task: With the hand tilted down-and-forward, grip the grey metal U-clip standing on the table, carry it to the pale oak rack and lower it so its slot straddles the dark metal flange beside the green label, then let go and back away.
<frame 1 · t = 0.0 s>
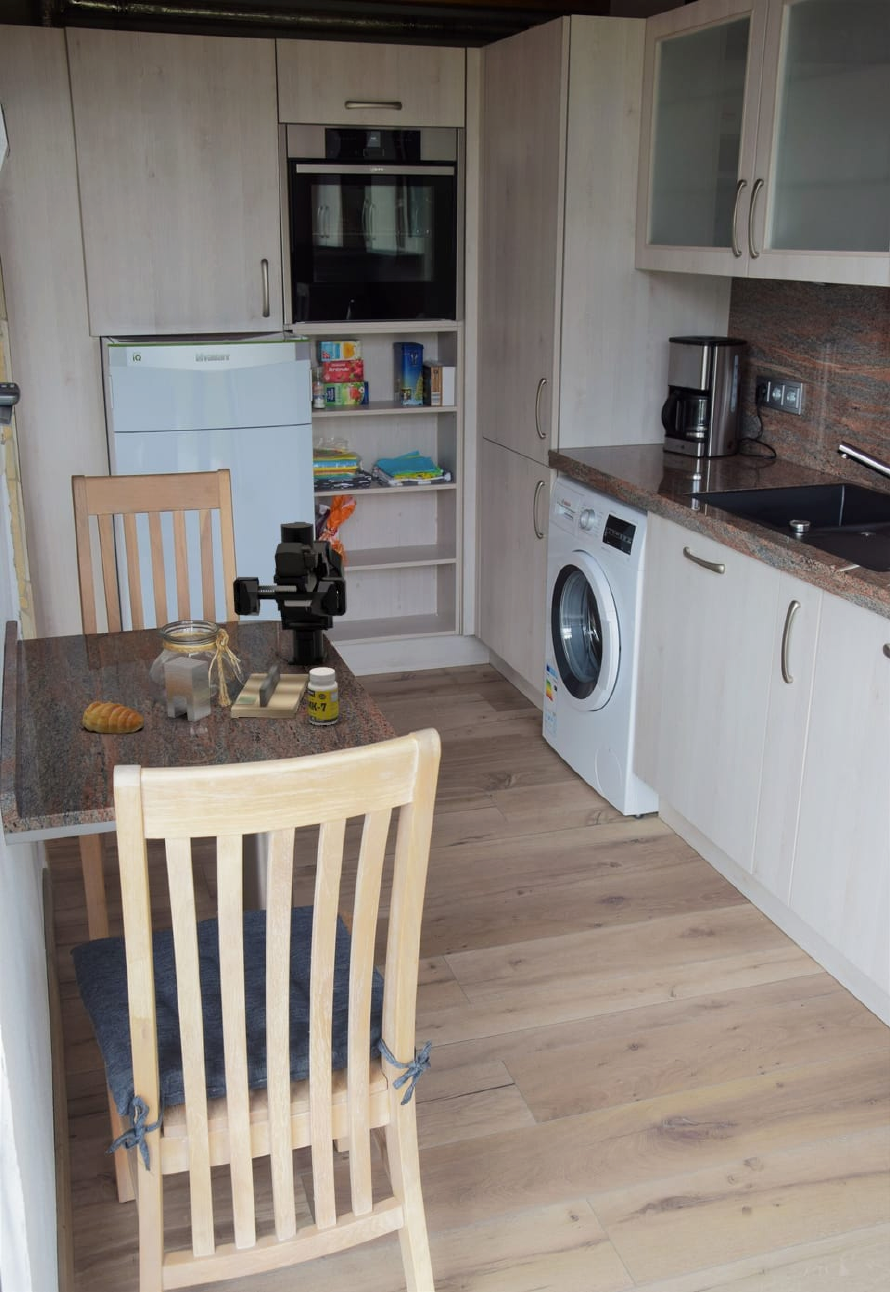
hand: (282, 609, 191), 17 cm above the table, tool horizontal, fingers open, 9 cm apart
clip: (189, 715, 192), on the table
supplement bottle: (323, 722, 189), on the table
pastry: (113, 728, 187), on the table
rack: (271, 699, 199), on the table
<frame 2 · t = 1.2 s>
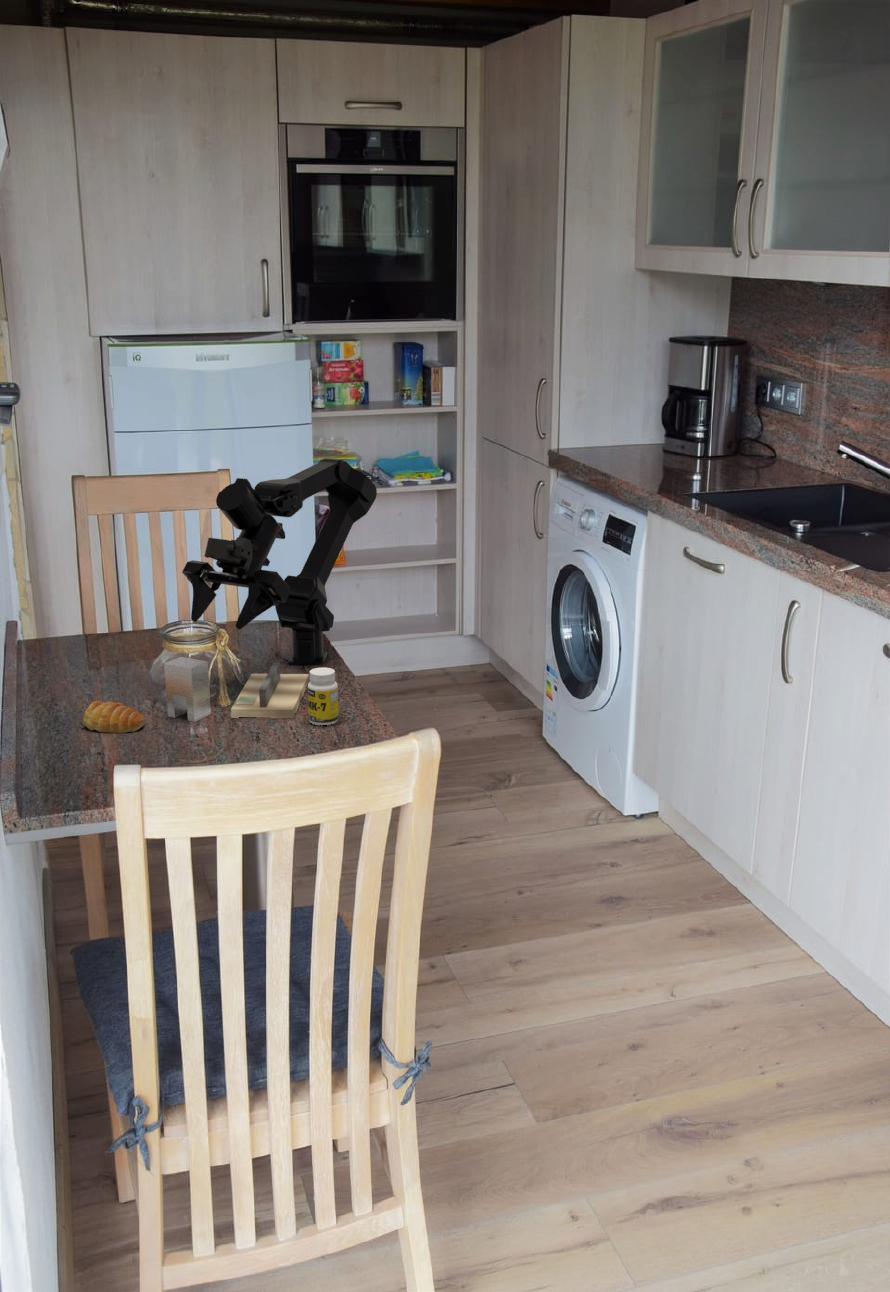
hand: (215, 624, 194), 13 cm above the table, tool tilted 45°, fingers open, 9 cm apart
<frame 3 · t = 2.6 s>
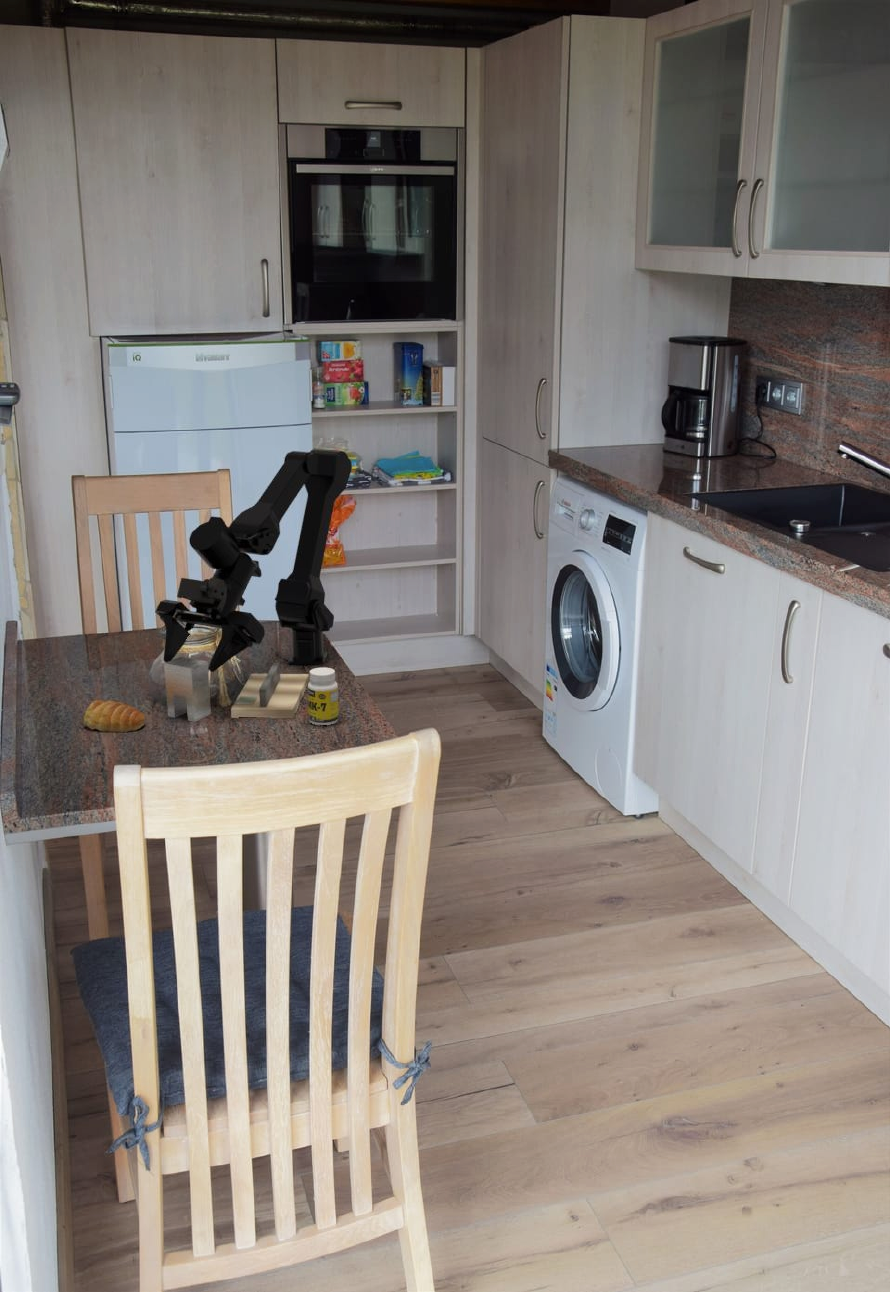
hand: (187, 666, 189), 8 cm above the table, tool tilted 45°, fingers open, 9 cm apart
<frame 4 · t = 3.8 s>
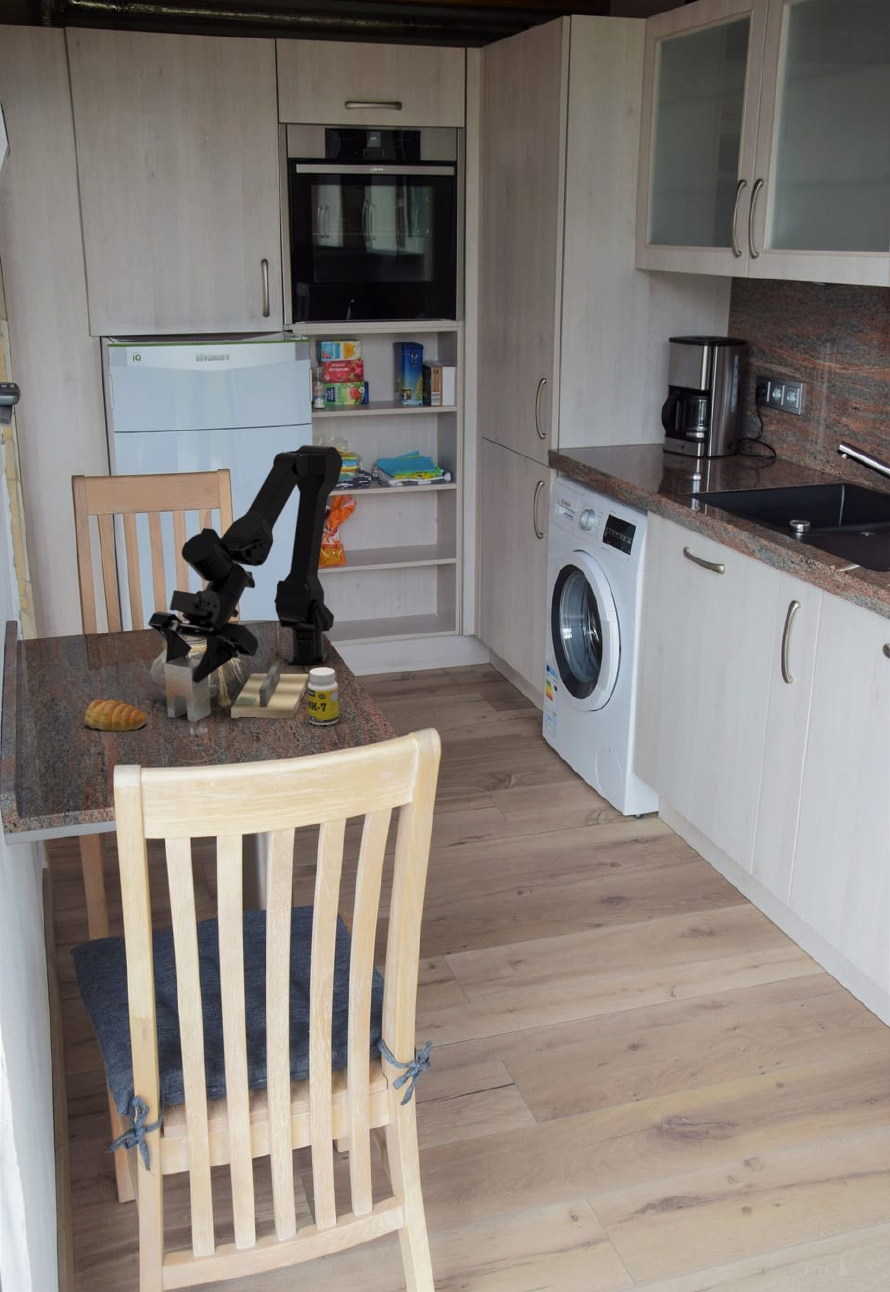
hand: (181, 679, 188), 7 cm above the table, tool tilted 45°, fingers closed on clip, 5 cm apart
clip: (189, 715, 191), on the table, touching gripper
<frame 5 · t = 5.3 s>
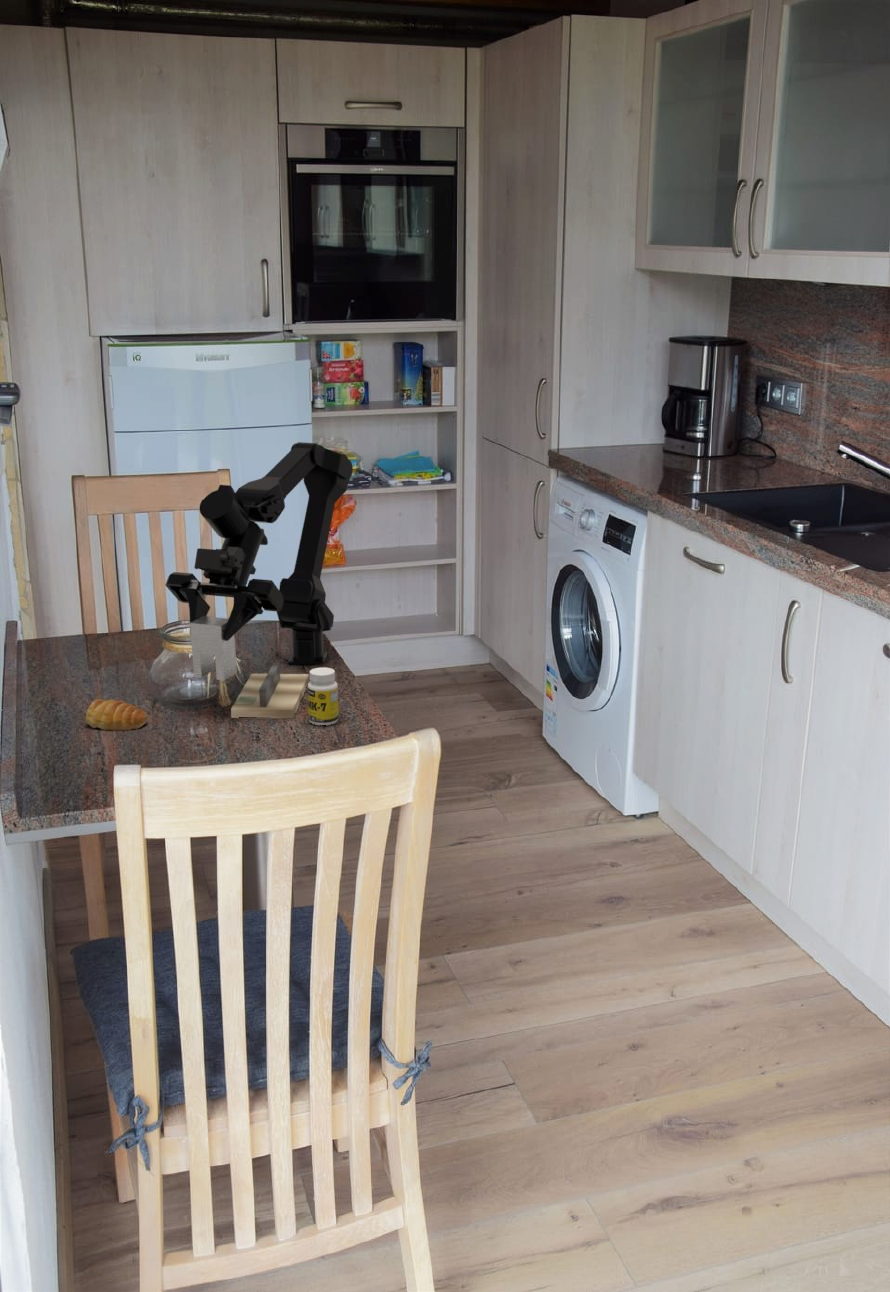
hand: (208, 637, 187), 13 cm above the table, tool tilted 45°, fingers closed on clip, 5 cm apart
clip: (215, 674, 190), point 7 cm above the table, touching gripper
when the fingers open (9 cm above the table, at t = 7.2 s): clip stays where it is, resting on rack.
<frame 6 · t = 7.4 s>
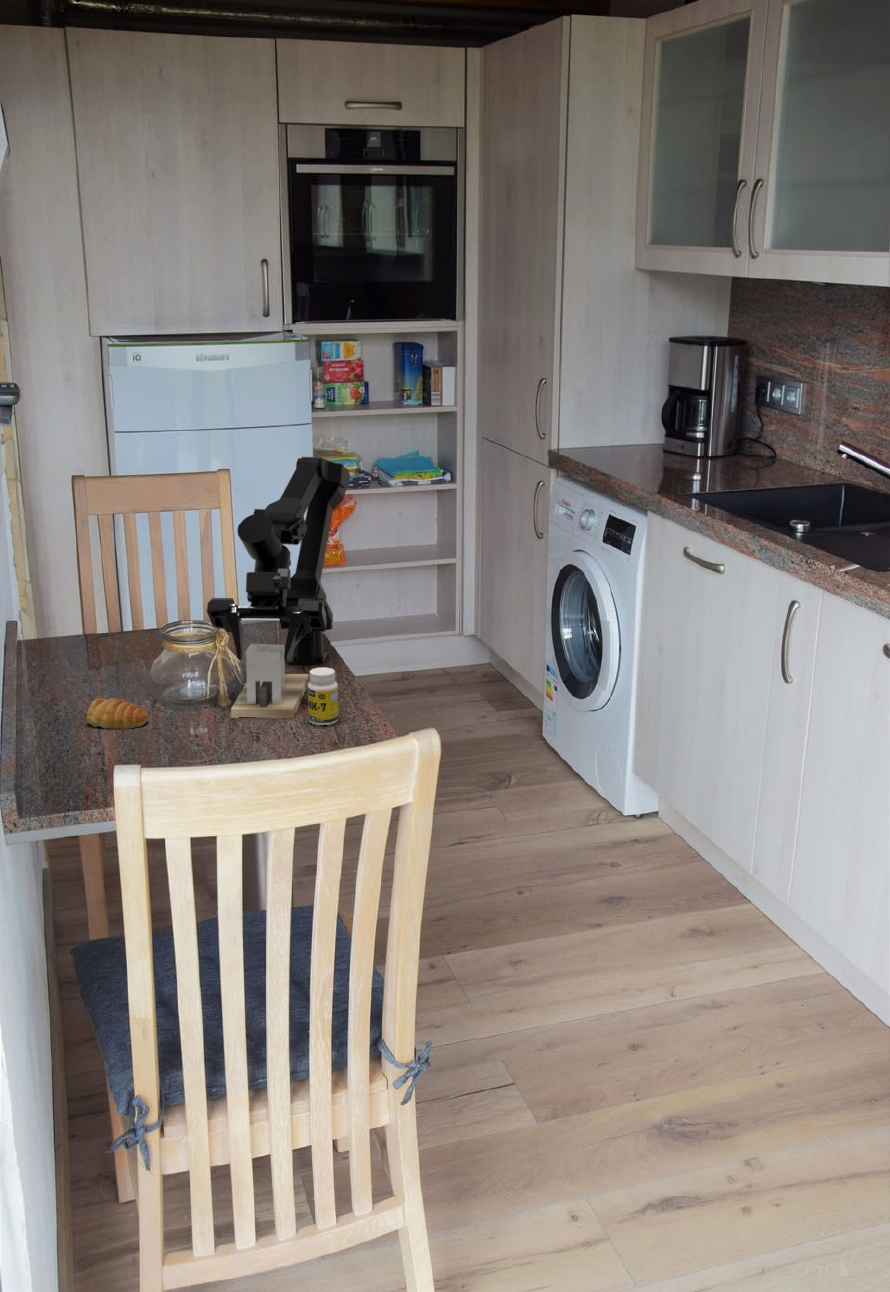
hand: (262, 659, 190), 9 cm above the table, tool tilted 45°, fingers open, 7 cm apart
clip: (266, 700, 194), point 2 cm above the table, touching rack
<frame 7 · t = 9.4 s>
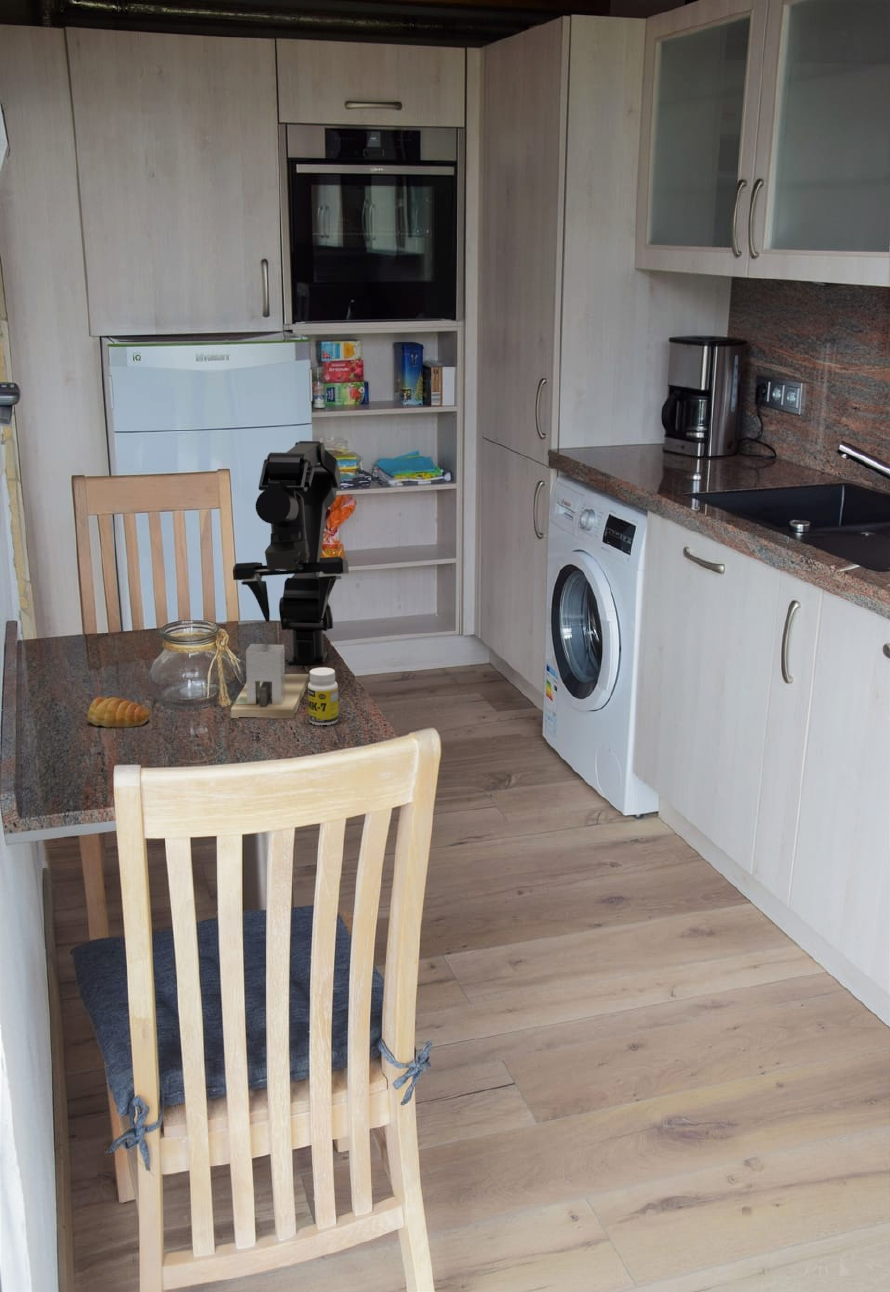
hand: (294, 620, 200), 12 cm above the table, tool tilted 15°, fingers open, 9 cm apart
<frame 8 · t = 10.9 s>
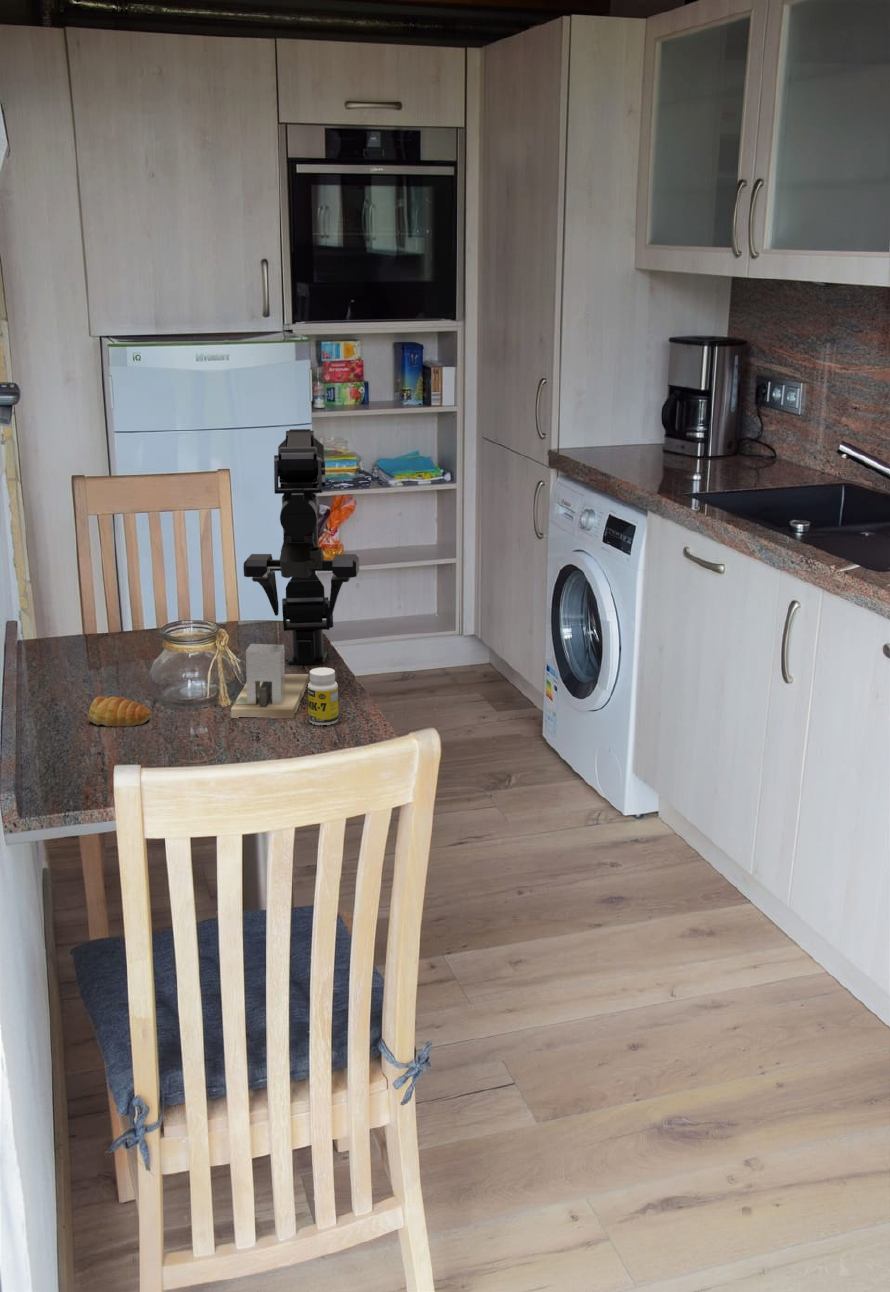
hand: (303, 615, 201), 13 cm above the table, tool pointing down, fingers open, 9 cm apart
at the end: clip inside the target area (0.8 cm from its centre), point 1.6 cm above the table; clip tilted 2°; the gripper is holding nothing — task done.
